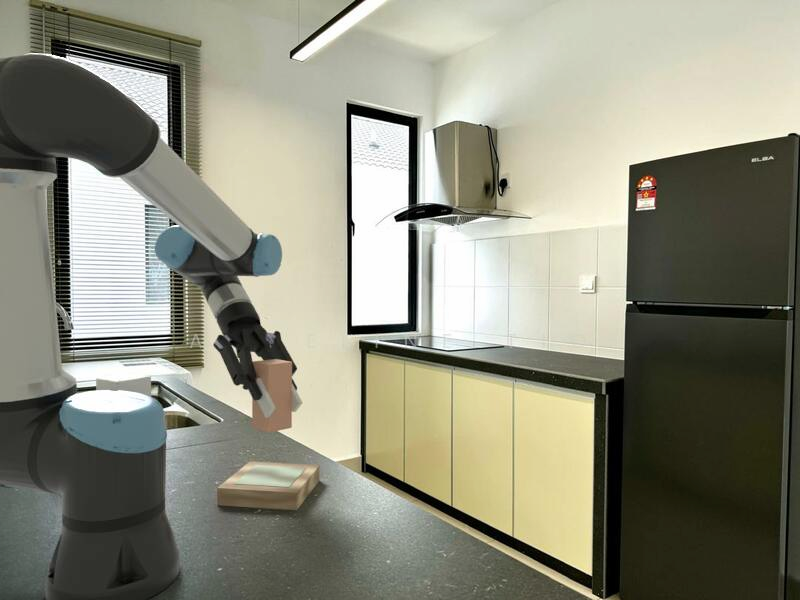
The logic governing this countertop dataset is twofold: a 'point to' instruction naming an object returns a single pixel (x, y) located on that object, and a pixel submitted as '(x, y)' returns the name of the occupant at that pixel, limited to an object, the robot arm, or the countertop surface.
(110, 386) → the supplement box
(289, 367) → the tall block
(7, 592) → the countertop surface
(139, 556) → the robot arm
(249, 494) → the oak picture frame
